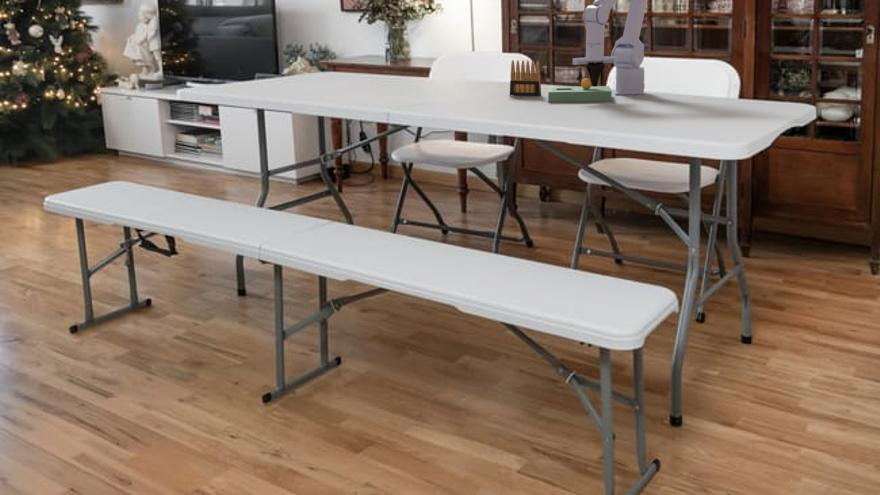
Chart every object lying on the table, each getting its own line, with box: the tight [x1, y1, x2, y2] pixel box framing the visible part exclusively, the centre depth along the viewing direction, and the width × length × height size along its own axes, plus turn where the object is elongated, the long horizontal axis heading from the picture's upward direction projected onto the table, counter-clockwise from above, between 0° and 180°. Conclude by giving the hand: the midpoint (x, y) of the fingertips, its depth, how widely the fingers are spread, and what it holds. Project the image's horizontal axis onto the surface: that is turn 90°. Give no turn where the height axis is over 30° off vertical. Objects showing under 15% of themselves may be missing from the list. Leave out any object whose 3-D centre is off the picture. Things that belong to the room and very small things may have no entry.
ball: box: [580, 77, 592, 89], centre depth 324 cm, size 4×4×4 cm
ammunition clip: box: [509, 59, 542, 97], centre depth 336 cm, size 11×2×12 cm, turn 67°
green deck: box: [547, 85, 613, 103], centre depth 325 cm, size 20×14×3 cm
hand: (594, 86), depth 323 cm, fingers closed, pressing on ball
